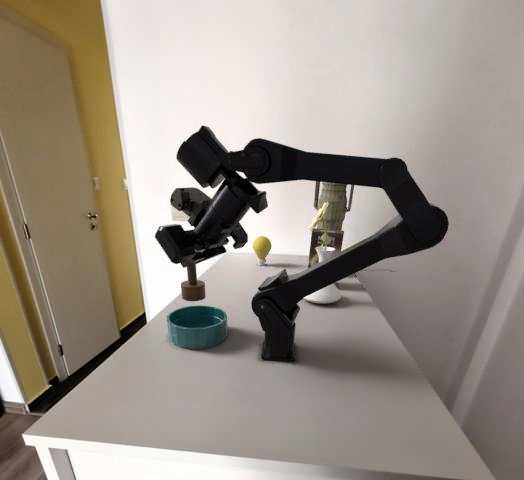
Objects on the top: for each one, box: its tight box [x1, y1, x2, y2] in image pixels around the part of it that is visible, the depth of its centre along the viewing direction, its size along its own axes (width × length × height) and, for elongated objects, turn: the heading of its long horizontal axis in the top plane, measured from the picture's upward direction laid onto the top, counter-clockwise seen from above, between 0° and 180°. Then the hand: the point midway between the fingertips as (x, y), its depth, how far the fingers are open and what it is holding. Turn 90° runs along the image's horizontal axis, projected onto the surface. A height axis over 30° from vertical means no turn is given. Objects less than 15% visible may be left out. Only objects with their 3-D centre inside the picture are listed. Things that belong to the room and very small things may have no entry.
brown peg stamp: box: [180, 263, 207, 302], centre depth 66 cm, size 5×5×10 cm
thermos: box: [313, 181, 355, 231], centre depth 106 cm, size 9×12×35 cm
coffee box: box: [307, 227, 345, 287], centre depth 99 cm, size 9×6×16 cm
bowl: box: [166, 304, 228, 350], centre depth 69 cm, size 12×12×4 cm
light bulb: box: [252, 235, 272, 267], centre depth 119 cm, size 7×7×10 cm
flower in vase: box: [302, 202, 342, 305], centre depth 84 cm, size 13×11×25 cm
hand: (186, 264), depth 66 cm, fingers closed on brown peg stamp
